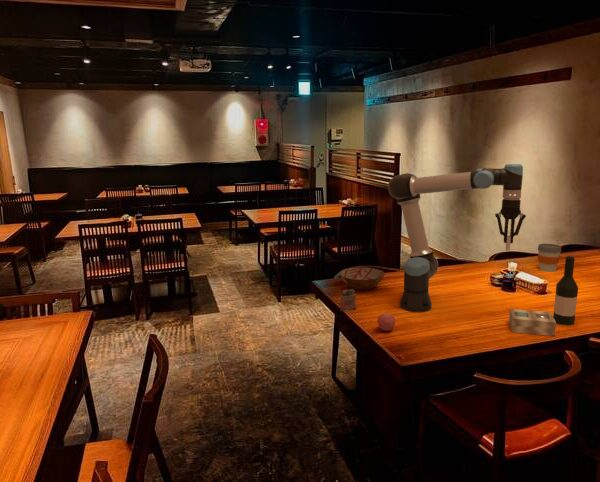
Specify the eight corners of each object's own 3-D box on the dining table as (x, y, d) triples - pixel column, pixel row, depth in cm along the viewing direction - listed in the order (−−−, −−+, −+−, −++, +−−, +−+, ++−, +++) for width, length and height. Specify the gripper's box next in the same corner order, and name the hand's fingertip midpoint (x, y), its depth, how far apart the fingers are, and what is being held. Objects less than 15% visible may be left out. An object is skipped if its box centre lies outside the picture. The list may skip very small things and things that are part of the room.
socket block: (512, 332, 195) (513, 318, 194) (508, 321, 206) (509, 308, 205) (554, 336, 190) (556, 322, 189) (548, 325, 202) (550, 312, 200)
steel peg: (536, 329, 196) (538, 316, 195) (535, 326, 200) (536, 313, 198) (547, 330, 195) (548, 317, 193) (545, 327, 198) (546, 314, 197)
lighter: (341, 311, 223) (341, 291, 220) (339, 309, 226) (338, 289, 224) (357, 309, 225) (357, 290, 222) (354, 307, 228) (354, 288, 226)
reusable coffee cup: (531, 268, 288) (533, 244, 285) (547, 266, 292) (549, 242, 289) (547, 273, 277) (549, 249, 273) (564, 271, 280) (566, 247, 277)
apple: (398, 329, 201) (398, 312, 199) (389, 334, 195) (389, 317, 193) (383, 325, 205) (383, 308, 204) (374, 330, 200) (374, 313, 198)
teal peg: (516, 328, 198) (517, 315, 197) (514, 324, 202) (516, 311, 201) (526, 328, 197) (527, 316, 196) (525, 325, 201) (526, 312, 200)
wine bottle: (555, 317, 210) (561, 252, 204) (576, 321, 205) (583, 255, 199) (550, 322, 204) (557, 256, 198) (572, 327, 199) (579, 259, 193)
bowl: (393, 290, 253) (393, 276, 251) (352, 296, 244) (352, 282, 242) (369, 278, 276) (370, 265, 274) (331, 283, 267) (331, 270, 265)
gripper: (496, 199, 207) (493, 251, 212) (528, 200, 203) (524, 252, 208) (495, 197, 214) (491, 247, 219) (526, 198, 210) (522, 248, 215)
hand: (507, 249), depth 213 cm, fingers closed
